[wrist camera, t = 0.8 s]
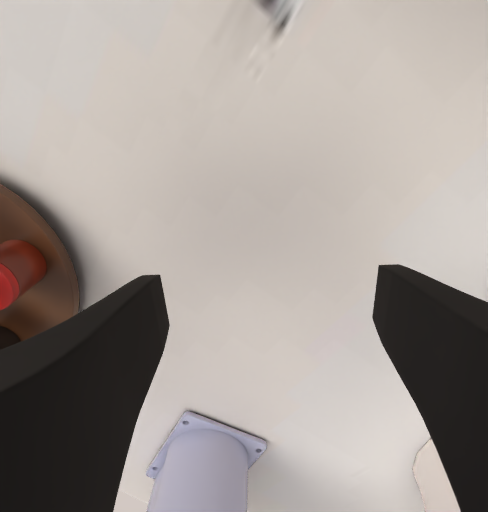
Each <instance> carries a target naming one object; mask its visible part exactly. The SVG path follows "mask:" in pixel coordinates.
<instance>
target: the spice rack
mask: <svg viewBox="0 0 488 512" xmlns="http://www.w3.org/2000/svg"><path fill="white" fill-rule="evenodd" d="M78 308H79V286H78V281H77V277H76V273H75V270H74V267H73V264H72V261H71V259H70V257H69V255H68V253H67V251H66V249H65V247H64V245H63V244H62V242H61V241H60V239H59V238H58V236H57V235H56V233H55V232H54V231H53V229H52V228H51V227H50V226H49V224H48V223H47V222H46V221H45V220H44V219H43V218H42V217H41V216H40V215H39V214H38V213H37V212H36V211H35V210H34V209H33V208H32V207H31V206H30V205H29V204H28V203H27V202H25V201H24V200H23V199H22V198H20V197H19V196H18V195H17V194H15V193H14V192H12V191H11V190H9V189H8V188H6V187H5V186H3V185H2V184H0V350H1V349H4V348H6V347H9V346H11V345H14V344H16V343H19V342H21V341H24V340H26V339H28V338H31V337H33V336H35V335H37V334H39V333H41V332H44V331H46V330H48V329H50V328H52V327H54V326H56V325H58V324H60V323H62V322H64V321H66V320H67V319H69V318H71V317H73V316H74V315H76V314H78Z"/></svg>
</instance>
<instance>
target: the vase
mask: <svg viewBox="0 0 488 512" xmlns="http://www.w3.org/2000/svg"><path fill="white" fill-rule="evenodd" d="M412 470H413V473H414V476H415V479H416V482H417V485H418V487H419V489H420V492H421V495H422V499H423V503H424V508H425V512H461V511H460V508H459V505H458V503H457V500H456V497H455V495H454V492H453V489H452V487H451V485H450V482H449V480H448V477H447V475H446V472H445V470H444V467H443V465H442V462H441V460H440V457H439V455H438V452H437V450H436V448H435V445H434V443H433V441H432V438H431V439H430V440H429V441H428V442H427V443H426V444H425V445H424V446H423V447H422V448H421V450H420V451H419V452H418V453H417V456H416V459H415V462H414V466H413V469H412Z"/></svg>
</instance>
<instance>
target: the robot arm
mask: <svg viewBox="0 0 488 512" xmlns="http://www.w3.org/2000/svg"><path fill="white" fill-rule="evenodd" d="M373 321H374V324H375V327H376V329H377V332H378V335H379V337H380V340H381V342H382V344H383V346H384V348H385V350H386V352H387V354H388V356H389V357H390V359H391V361H392V363H393V365H394V366H395V368H396V370H397V372H398V374H399V375H400V377H401V379H402V381H403V382H404V384H405V386H406V388H407V390H408V391H409V393H410V395H411V397H412V399H413V400H414V402H415V404H416V406H417V408H418V410H419V412H420V414H421V416H422V418H423V420H424V422H425V424H426V427H427V429H428V431H429V434H430V436H431V438H432V441H433V443H434V445H435V448H436V450H437V452H438V455H439V457H440V460H441V462H442V465H443V467H444V470H445V472H446V475H447V477H448V480H449V482H450V485H451V487H452V489H453V492H454V495H455V497H456V500H457V503H458V505H459V508H460V511H461V512H488V302H486V301H483V300H481V299H478V298H476V297H473V296H471V295H468V294H466V293H464V292H461V291H459V290H457V289H455V288H452V287H450V286H448V285H446V284H443V283H441V282H439V281H437V280H435V279H432V278H430V277H428V276H426V275H424V274H421V273H419V272H417V271H415V270H412V269H410V268H407V267H405V266H402V265H379V268H378V277H377V285H376V293H375V301H374V309H373ZM169 326H170V325H169V319H168V314H167V309H166V304H165V298H164V293H163V288H162V282H161V277H160V275H142V276H140V277H138V278H136V279H134V280H132V281H131V282H129V283H127V284H126V285H124V286H122V287H121V288H119V289H118V290H116V291H115V292H113V293H111V294H110V295H108V296H107V297H105V298H103V299H102V300H100V301H99V302H97V303H95V304H94V305H92V306H90V307H88V308H87V309H85V310H83V311H81V312H80V313H78V314H76V315H74V316H73V317H71V318H69V319H67V320H66V321H64V322H62V323H60V324H58V325H56V326H54V327H52V328H50V329H48V330H46V331H44V332H41V333H39V334H37V335H35V336H33V337H31V338H28V339H26V340H24V341H21V342H19V343H16V344H14V345H11V346H9V347H6V348H4V349H1V350H0V512H113V510H114V505H115V500H116V497H117V492H118V488H119V484H120V481H121V477H122V473H123V469H124V465H125V461H126V457H127V453H128V450H129V446H130V443H131V439H132V435H133V432H134V428H135V425H136V422H137V419H138V416H139V413H140V410H141V408H142V405H143V403H144V400H145V397H146V395H147V392H148V390H149V387H150V385H151V382H152V380H153V377H154V375H155V372H156V370H157V367H158V364H159V362H160V359H161V357H162V354H163V351H164V347H165V343H166V339H167V335H168V330H169ZM266 448H267V442H266V441H264V440H262V439H259V438H257V437H254V436H252V435H249V434H247V433H244V432H241V431H239V430H236V429H234V428H231V427H229V426H226V425H223V424H221V423H218V422H216V421H213V420H211V419H208V418H205V417H203V416H200V415H198V414H195V413H193V412H189V411H188V412H185V413H183V415H182V416H181V418H180V420H179V421H178V423H177V424H176V426H175V427H174V429H173V430H172V432H171V433H170V435H169V436H168V438H167V440H166V441H165V443H164V444H163V446H162V447H161V449H160V450H159V452H158V453H157V455H156V456H155V458H154V459H153V461H152V463H151V464H150V466H149V467H148V469H147V472H146V475H147V476H148V477H150V478H153V479H155V481H154V485H153V489H152V493H151V496H150V500H149V504H148V508H147V512H247V493H248V469H249V468H250V467H251V466H252V465H253V463H254V462H255V461H256V460H257V459H258V458H259V457H260V455H261V454H262V453H263V452H264V451H265V450H266Z"/></svg>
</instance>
